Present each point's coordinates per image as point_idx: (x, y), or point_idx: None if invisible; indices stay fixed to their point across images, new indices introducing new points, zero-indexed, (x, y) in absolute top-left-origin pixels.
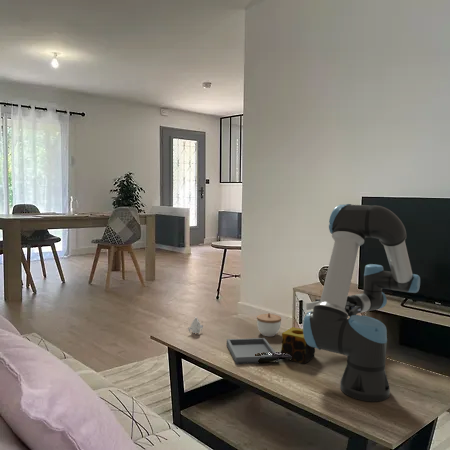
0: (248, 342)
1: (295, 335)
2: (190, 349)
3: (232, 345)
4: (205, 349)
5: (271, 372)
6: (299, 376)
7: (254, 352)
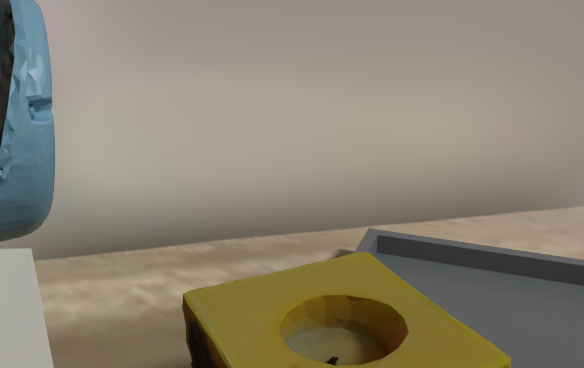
0: None
1: (274, 276)
2: (561, 216)
3: (522, 256)
4: (558, 239)
5: None
6: (103, 354)
7: (461, 321)
